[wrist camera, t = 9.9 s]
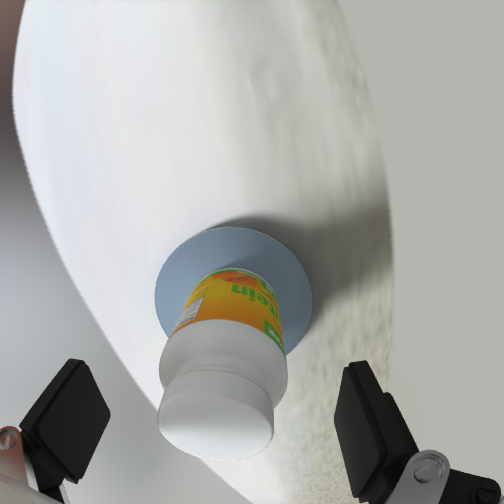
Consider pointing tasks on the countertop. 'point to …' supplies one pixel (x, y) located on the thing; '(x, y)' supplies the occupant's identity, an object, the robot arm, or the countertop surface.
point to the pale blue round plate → (236, 256)
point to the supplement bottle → (224, 368)
